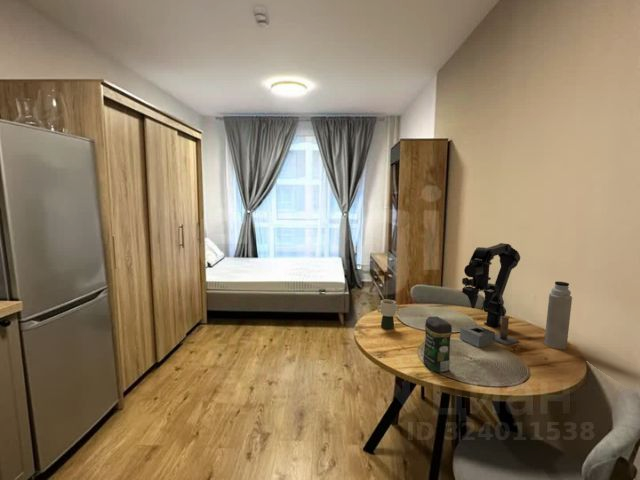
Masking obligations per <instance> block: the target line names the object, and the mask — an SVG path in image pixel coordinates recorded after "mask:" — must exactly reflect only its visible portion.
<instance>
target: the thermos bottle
mask: <svg viewBox="0 0 640 480" xmlns="http://www.w3.org/2000/svg"><path fill="white" fill-rule="evenodd" d="M569 286H570V283H569V282H566V281H555V282H554V287H553V288H551V290H550V291H551V292H550V293H548V304H547V313H546V325H545V334H544V345H546V346H547V347H549V348H552V349H557V350H566V349H567V348H568V338H569V330H570V320H571V311H572V304H573V303H572V301H573V297H572V296H571V294H572V293H571V290H569Z"/></svg>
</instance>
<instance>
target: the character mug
mask: <svg viewBox="0 0 640 480" xmlns="http://www.w3.org/2000/svg"><path fill="white" fill-rule="evenodd" d="M399 309H400V305H399V304H397V301H395V300H392V299H382V300H381V301H380V305H377V313H380V314H381V315H382V316H381V322H380V323H381V324H380V327H382V328H384V329H387V330H391V329H393V328H394V327H395V322H394V319H395V318H394V316H395V315H396V312H399Z"/></svg>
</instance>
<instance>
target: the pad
mask: <svg viewBox="0 0 640 480" xmlns="http://www.w3.org/2000/svg"><path fill="white" fill-rule="evenodd" d="M495 342H496V343H498V344H501V345H503V346H506V347H507V346H510V345H514V344H517V343H520V340H519V339H516V338H514V337H511V336H508V335H507V340H502V339H500V333H497V334H495Z"/></svg>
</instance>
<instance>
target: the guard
mask: <svg viewBox="0 0 640 480" xmlns="http://www.w3.org/2000/svg"><path fill="white" fill-rule="evenodd" d="M459 329H460V330H459V331H460V332H459V340H462V341H463V340H464V342H466V343H468V344H470V345H471V346H474V345H475V346H474V347H476V346H477V347H476V348H478V347H479V348H481V347H482V346H483V347H486V346H489V345H495V342H496V341H495V335H496V332H495V331H492V330H490V329H487V328H485V327H482V326H480V325H478V324H473V325H469V326H465V327H459ZM483 347H482V348H483Z"/></svg>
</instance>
